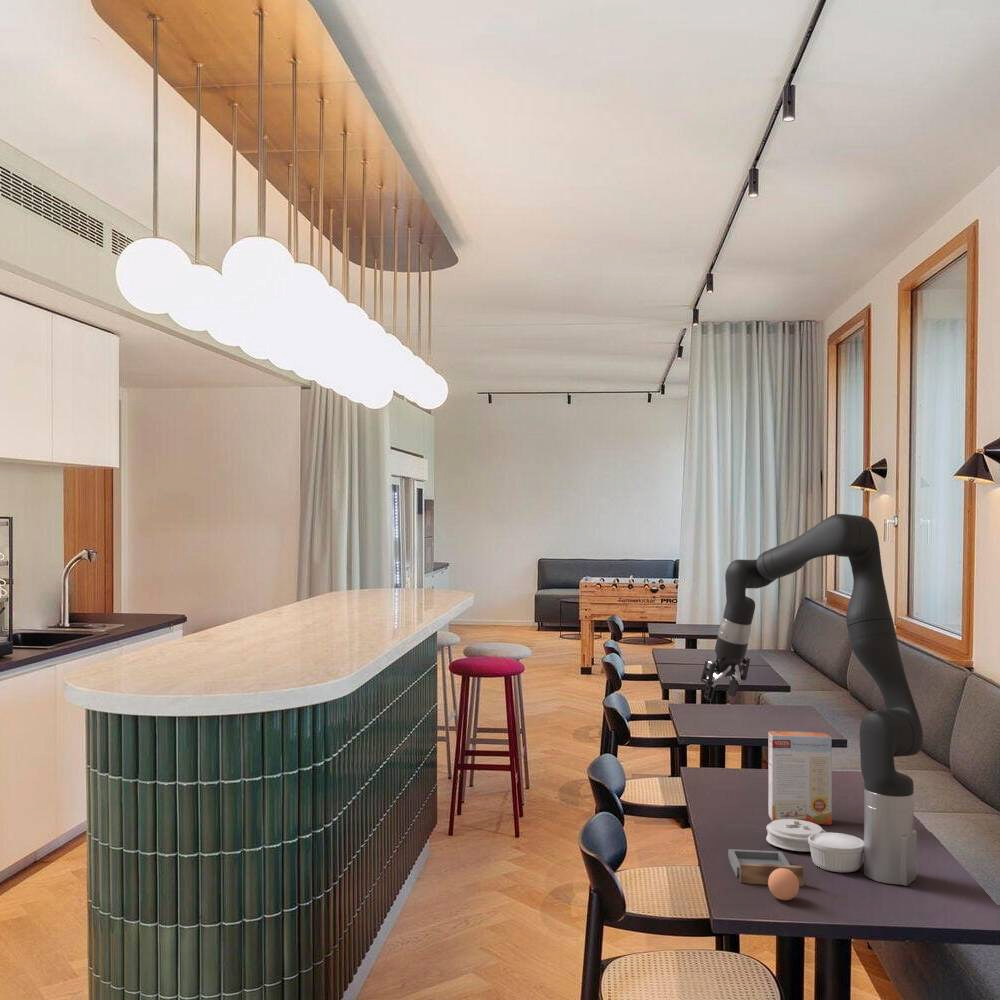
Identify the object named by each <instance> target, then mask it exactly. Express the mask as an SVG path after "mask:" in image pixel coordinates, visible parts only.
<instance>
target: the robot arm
mask: <svg viewBox="0 0 1000 1000" xmlns="http://www.w3.org/2000/svg"><path fill="white" fill-rule="evenodd" d="M876 528H877V527H876V526H875V524H874V522H873V521H872V520H871V519H869V518H868V517H865V516H861V515H857V514H856V515H854V514H847V513H836V514H833V515H831V516H829V517H827V518H825V519H823V520H822V521H820V522H818V523H817V524H816V525H814V526H813V527H812V528H810V529H808V530H807V531H805V532H804V533H802V534H800V535H799V536H796V537H795V538H793V539H792V540H789V541H787V542H785V543H783V544H780V545H777V546H774V547H772V548H770V549H767V550H765V551H763V552H762V553H760V554H759V555H758V556H757V558H756V559H735V560H733V561H731V562H730V563H729V564H728V566H727V568H726V571H725V574H724V576H725V578H724V580H725V581H724V582H725V599H726V603H725V606H724V607H725V608H724V611H723V616H722V619H721V622H720V625H719V628H718V632H717V637H716V641H715V646H714V652H715V654H716V657H715V659H714V660H710V659H709V658H707V659H706V660H705V662H704V667H703V669H702V673H701V677H700V682H701V683H703V684H705V689H704V694H703V697H704V699H705V700H707V701H713V699H714V695H715V691H716V686H717V684H718V683H719V682H720V681H722V680H723V679H724V678H726V677H730V680H729V683H728V689H727V695H728V696H729V697H732V698H735V697H736V696H737V693H738V689H739V685H740V684H741V682H742V681H746V680H747V678H748V672H749V666H750V663H751V659H750V658H748V657H747V655H746V654H747V650H748V645H749V640H750V637H751V631H752V623H753V619H754V616H755V615H754V614H755V611H756V602H755V600H753V598H751V597H748V596H746V590H747V589H761V588H765V587H767V586H769V585H771V583H773V582H775V581H776V580H778V579H780V578H784V577H785V576H788V575H790V574H794V573H795V572H797V571H799V570H800V569H802V568H803V567H804V566H805V565H806V564H807V563H808V562H809V561H811V560H813V559H816V558H822V557H827V556H836V557H842V558H843V557H844V558H847V559H848V560H849V561H848V562H849V563H850V568H851V573H852V578H853V582H852V583H853V584H852V585H853V586H852V592H851V595H850V599H849V601H848V606H847V609H846V614H845V621H846V622H845V623H846V627H847V628H846V629H847V632H848V638H849V642H850V646H851V649H852V651H853V654H854V656H855V657H856V659H858V661H859V663H860V665H862V666H863V668H864V669H865V670H866V671H867V673H869V675H870V677H871V678H872V679H873V680H874V683H876V684H877V686H878V689H879V691H880V693H881V696H882V700H883V703H884V707H885V709H884V710H873V711H868V712H867V713H865V714H864V715H863V717H862V719H861V722H860V725H859V751H860V752H859V753H860V770H861V774H862V777H863V782H864V785H863V786H864V788H863V789H864V790H863V791H864V792H863V793H864V795H863V797H864V798H863V800H864V801H863V809H864V810H863V841H864V853H863V874H864V876H866V877H867V878H869V879H871V880H873V881H876V882H879V883H882V884H883V883H884V884H890V885H901V886H906V887H907V886H909V885H910V884H911V883H912V882H914V881H915V880H916V879H917V873H918V869H917V868H918V866H917V862H918V859H917V858H918V857H917V856H918V844H917V843H918V839H917V838H918V832H917V830H916V829H914V799H915V796H914V794H915V793H914V792H915V791H914V790H915V789H914V787H915V786H914V780H913V779H912V777H911V776H909V775H908V774H904V773H901V772H898V771H897V770H896V766H895V757H896V758H897V757H910V756H914V755H917V754H918V753H919V752H920V751H921V749H922V748H923V744H924V731H923V726H922V723H921V720H920V716H919V712H918V709H917V707H916V704H915V700H914V698H913V695H912V692H911V690H910V686H909V683H908V679H907V675H906V672H905V668H904V665H903V660H902V657H901V652H900V648H899V644H898V637H897V632H896V628H895V624H894V618H893V616H892V612H891V609H890V604H889V599H888V593H887V589H886V584H885V579H884V574H883V573H884V572H883V566H882V558H881V557H882V556H881V548H880V541H879V534H878V531H877V529H876Z"/></svg>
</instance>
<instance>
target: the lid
mask: <svg viewBox="0 0 1000 1000" xmlns="http://www.w3.org/2000/svg"><path fill="white" fill-rule="evenodd" d="M765 827H766V831H767V835H766V836H765V838H766V842H768V844H770V845H773V846H774V847H776V848H777V847H778V848H781V849H783V850H788V851H796V852H811V851H810V844H809V843H808V837H809V836H810V835H812V834H816V833H827V831H826V830H824V829H823V828H822V827H821V825H820V824H814V823H812V822H808V821H803V820H796V819H779V820H775V821H772V820H771V821H770V823H768V824H767V825H766V826H765Z"/></svg>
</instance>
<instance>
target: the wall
mask: <svg viewBox="0 0 1000 1000" xmlns="http://www.w3.org/2000/svg"><path fill="white" fill-rule="evenodd" d="M779 868H785V869H788V870H790V871H792V872H793V873H794V874H795V875H796V877H797V879H798V881H799V885H803V886H804V867H803V865H791V864H790V865H773V864H751V863H740V878H739V883H740V884H751V885H753V884H754V885H768V879H769V876H770V874H771V873H772V872H773V871H774V870H776V869H779Z"/></svg>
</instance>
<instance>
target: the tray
mask: <svg viewBox="0 0 1000 1000" xmlns="http://www.w3.org/2000/svg"><path fill="white" fill-rule="evenodd" d="M727 850H728V852H727V855H728V856H727V859H728V861H729V864H730V865H731V868H732V870H733V873H734V874H735V877H736V878H738V879H740V863H751V864H773V865H791V864H790V863H789V861H788V859H787V858H786V855H784V853H783V851H779V850H778V851H776V850H753V849H737V848H736V849H735V848H734V849H731V848H729V849H727Z"/></svg>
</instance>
